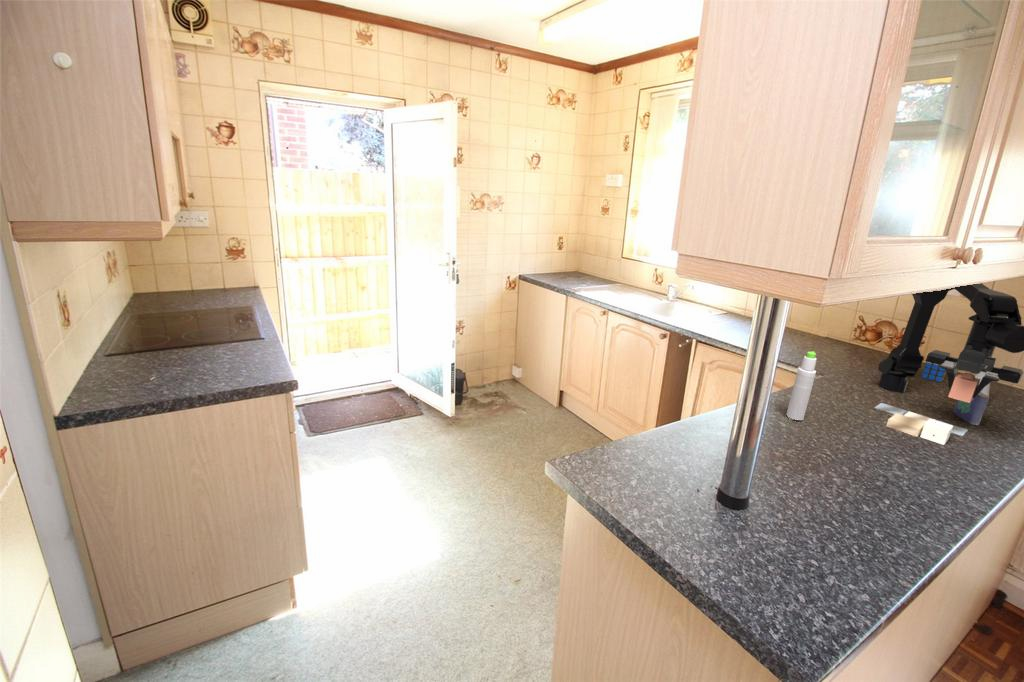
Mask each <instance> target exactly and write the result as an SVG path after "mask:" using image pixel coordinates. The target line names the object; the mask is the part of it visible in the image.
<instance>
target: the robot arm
mask: <svg viewBox="0 0 1024 682" xmlns="http://www.w3.org/2000/svg"><path fill="white" fill-rule="evenodd" d="M980 283H981V284H973V285H967V286H960V287H955V288H951V289H946V290H941V291H933V292H923V293H916V294H912V293H911V295H912V298H913V300H914V305H913V306H912V309H911V311H910V315H909V317H908V321H907V323H906V327H905V329H904V331H903V334H902V337H901V340H900V343H899V344H898V345H897V346H896V347H894V348H893V349H892V350H891V351H890V353H889V354H888V356H887V358H885V359H884V360H882V361H881V362H879V363H878V366H877V367H878V369H877V370H878V371H879V372H881V377H880V380H879V382H878V388H881V389H883V390H885V391H889V392H892V393H893V392H894V393H898V394H904V393H905V392H906V390H907V387H908V384H909V380H908V377H910V378H914V377H915V376H916V374H917V372H918V371H919V370H920V369H921V368H922V363H923V361H924V360H925V363H926V362H930V363H934V364H938V365H940V364H942V363H943V364H942V366H941V368H942V369H945V371H946V375H947V380H948V392H949V393H950V390H951V388H952V385H953V382H954V379H955V377H956V376H957V375H958V371H964V372H967V373H971V374H973V375H974V374H975V375H976V374H979V373H980V371H983V372H986V375H985V376H984V377H983V378H982V380H981V382H980V384H979V385H978V387H977V389H976V390H975V392H974V395H973V397H972V398H975V397H976V396H977V395H978V394H979V393H980V392H981V391H982V389H983V388H984V387H985V386H987V385H988V384H989V383H990V384H991V383H992V382H995V383H996V382H999V381H1002V382H1003V381H1004V382H1008V383H1012V384H1019V382H1020V381H1021V380H1022V377H1023V375H1024V371H1023V370H1022V368H1018V367H1017V368H1016V367H1012V366H1008V365H1003V366H1002V367H997V366H996V367H994V366H995V364H996V360H997V358H996V357H993V354H994V352H995V350H996V348H999V349H1000V350H1004V351H1006V352H1008V353H1011V354H1017V353H1019V354H1020V353H1022V352H1024V324H1023V325H1022V316H1021V313H1020V310H1019V305H1018V299H1017V298H1016V297H1015V296H1013V295H1011V294H1007V293H1005V292H1002V291H997V290H993V289H990V288H989V287H988V286H987V285H985V284H983V283H982V282H980ZM953 290H956V291H957V292H958V293H959V294H960V295H961V296H964V297H965V298H966V299H967V300H969V302H970V303H969V307H970V308H971V309H972V310H973V312H974V313H975V314H973V315H971V316H969V317H968V320H969V321H972V325H971V328H970V331H969V334H968V337H967V339H966V341H965V344H964V347H963V349H962V350H961V352H959V355H958V357H953V356H951V353H950V352H947V351H946V352H945V351H941V350H937V349H934V350H932V351H930V352H929V353H928V354H927V356H926V359H925V357H924V356H923V355H921V352H920V347H921V344H922V341H923V339H924V336H925V333H926V332H927V331H926V330H927V328H928V325H929V322H930V320H931V317H932V315H933V312H934V309H935V307H936V306H937V305H938V304H939V303H941V302H942V301H944V300H945V299H946V297H947V295H948V293H949V292H950V291H953Z"/></svg>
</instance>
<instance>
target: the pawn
mask: <svg viewBox="0 0 1024 682" xmlns="http://www.w3.org/2000/svg"><path fill="white" fill-rule="evenodd" d="M980 380H981V379H978V378H975V375H974V374H973V373H971V372H964V373H962V374H961V373H957V376H956V377H955V379H954V382H953V385H952V388H951V390H950V392H949V393H948V398H950V399H952V400H953V399H955V400H957V401H958V400H961V401H964V402H968V403H970V402H971V401H972V400H973V398H972V397H973V395H974V392H975V390H976V389H977V387H978V385H979V382H980Z"/></svg>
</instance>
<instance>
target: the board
mask: <svg viewBox="0 0 1024 682" xmlns="http://www.w3.org/2000/svg"><path fill="white" fill-rule="evenodd" d="M873 408H874V409H877V410H879V411H880V410H881V411H883V412H887V413H889V414H892V415H894V414H896V413H898V414H901V415H904V416H907V417H910V418H913V419H916V420H919V421H923V422H927V421H928V420H929V419H932V420H936V419H934V418H931V417H928V416H925V415H922V414H919V413H915V412H913V411H909V410H908V411H907V410H906V409H902V408H899V407H896V406H893V405H890V404H886V403H883V402H880V403H879V404H877V405H876V406H874V407H873ZM938 421H939V422H942V423H945V424H949V425H952V426H953V428H952V431H951V433H950V434H954V435H957V436H958V435H959V436H961V437H963V436H964V435H965V434H967V432H968V429H967V428H963V427H960V426H957V425H954V424H950V423H947V422H944V421H942V420H938Z"/></svg>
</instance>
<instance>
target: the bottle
mask: <svg viewBox="0 0 1024 682" xmlns="http://www.w3.org/2000/svg"><path fill="white" fill-rule="evenodd" d="M816 355H817V353H816V352H815V351H807V352H806V355H804V356H803V359H802V362H801V366H799V367H798V368H797V372H796V376H795V379H794V383H793V387H792V391H791V393H790V394H791V395H790V400H789V403H788V405H787V406H788V407H787V410H786V414H785V416H786V415H787V416H788V417H790V418H792V419H795V420H803V421H804V418H805V415H806V412H807V411H806V410H807V407H808V404H809V399H810V397H811V392H812V389H813V385H814V381H815V377H816V374H817V370H815V368H816V364H817V357H816Z"/></svg>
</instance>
